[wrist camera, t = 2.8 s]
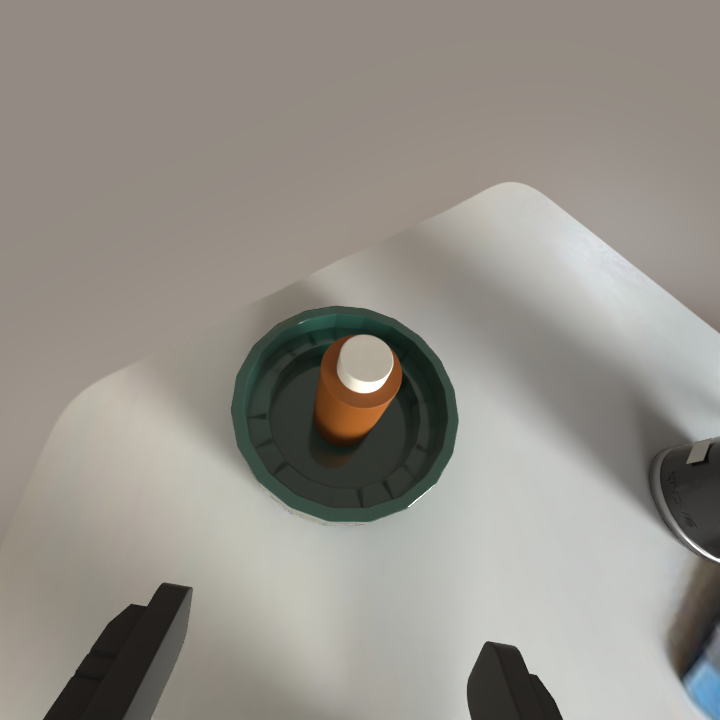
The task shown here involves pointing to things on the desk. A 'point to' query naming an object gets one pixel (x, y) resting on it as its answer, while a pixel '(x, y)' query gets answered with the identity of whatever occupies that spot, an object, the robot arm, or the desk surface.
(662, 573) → the desk surface
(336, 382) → the bottle
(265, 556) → the desk surface
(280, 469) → the bowl
